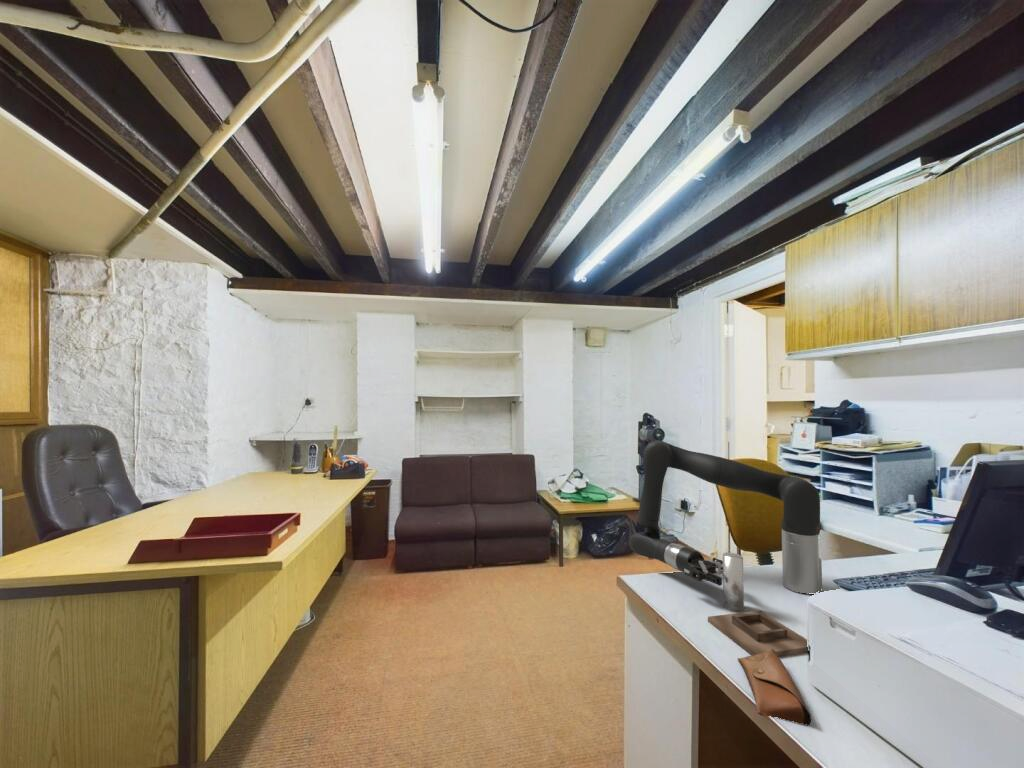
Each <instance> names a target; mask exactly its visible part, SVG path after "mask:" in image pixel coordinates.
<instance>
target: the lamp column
mask: <svg viewBox="0 0 1024 768" xmlns="http://www.w3.org/2000/svg"><path fill="white" fill-rule="evenodd" d="M722 561H723V570H722V571H723V574H722V590H723V591H722V594H723V595H722V597H723V598H722V599H723V602H722V603H723V608H725V609H727V611H731V612H734V613H743V612H744V611H745V599H744V598H745V597H744V596H745V594H744V592H745V591H744V590H745V589H744V557H743V556H742V555H741V554H738V553H734V552H723V553H722Z"/></svg>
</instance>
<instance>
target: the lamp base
mask: <svg viewBox="0 0 1024 768" xmlns="http://www.w3.org/2000/svg"><path fill="white" fill-rule="evenodd" d="M707 623H709V624H711V625H712V626H713V627H714V628H716V629H717V630H718V631H720V632H721V633H722V634H723V635H725V636H726V637H727V638H728V639H730V640H731V641H733V642H734V643H735V644H736V645H737V646H739V647H740V648H741V649H742V650H744V651H745V652H746V653H748V654H749V656H752V655H756V654H760V653H764V652H768V651H770V650H771V649H774V650H775V652H776V653H777V655H778V657H779V658H780V657H785V656H786V657H787V656H792V655H799V653H800V654H807V653H808V652H807V651H808V647H807V640H808V639H807V638H805V637H804V636H802V635H800V634H799V633H798V632H795V630H792V629H791V628H789V627H787V626H786V625H784V624H783V623H782V622H779V621H778V620H777V619H775V618H773V617H771V616H770V615H768V614H767V613H766V612H763V611H762V610H752V611H745V612H744V611H742V612H734V613H729V614H728V613H727V614H720V615H719V614H718V615H712V616H707Z"/></svg>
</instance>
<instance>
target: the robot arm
mask: <svg viewBox="0 0 1024 768" xmlns="http://www.w3.org/2000/svg"><path fill="white" fill-rule="evenodd" d="M643 458H644V460H643V462H644V478H643V485H642V486H643V487H642V491H641V496H640V499H639V508H638V512H637V513H638V514H637V523H638V524H639V525H640V526H642V527H644V531H640V532H635V533H632V534H631V536H629V541H628V543H629V544H628V545H629V547H630V548H631V550H632V551H633V552H634V553H635V554H637V555H638V556H642V557H646V558H649V559H653V560H658V561H660V562H662V563H664V564H665V565H668V566H670V567H671V568H673V569H675V570H677V571H680V572H682V573H683V574H684V575H685V576H687V577H689V578H691V579H693V580H695V581H697V582H700V583H701V582H703V581H705V582H710V583H711V584H714V585H716V586H719V587H720V586H723V577H721V575H723V559H720V558H719V559H718V558H716V557H712V560H710V559H707V558H704V557H703V555H702V553H701V552H700V551H698V550H695V549H692V548H690V547H687V546H684V545H683V544H679V543H676V542H675V543H674V542H672V541H670V540H667V539H663V538H661V533H660V526H659V522H660V516H661V515H660V514H661V508H662V497H663V486H664V482H665V481H664V480H665V477H666V473H667V470H668V468H672V469H676V470H680V471H683V472H686V473H688V474H690V475H692V476H695V477H696V478H698V479H701V480H703V481H706V482H707V483H710V484H713V485H716V486H719V487H723V488H727V489H730V490H737V491H744V492H752V493H753V492H754V493H759V494H762V495H763V494H764V495H765V496H769V497H771V498H774V499H777V500H779V501H782V503H783V517H782V519H781V523H780V524H781V553H782V554H781V555H782V557H781V560H782V567H781V568H782V586H783V587H784V588H786V589H788V590H789V591H792V592H795V593H798V592H800V593H799V594H802V593H808V594H807V595H809V593H816V592H818V591H820V590H821V589H822V590H823V570H822V569H823V567H822V563H823V561H822V558H820V557H819V556H820V554H819V551H820V550H819V527H820V524H821V498H820V497H821V496H820V492H819V491H818V490H819V489H817V487H816V486H815V485H813V484H812V483H811V482H809V481H808V480H805V479H804V478H802V477H798V476H791V475H787V474H786V475H785V474H780V473H776V472H775V473H774V472H770V471H765V470H762V469H760V468H757V467H754V466H752V465H749V464H746V463H742V462H740V461H736V460H733V459H729V458H725V457H721V456H718V455H712V454H708V453H703V452H696V451H692V450H687V449H684V448H682V447H678V446H676V445H673V444H671V443H668V442H665V441H663V440H659V439H658V440H653V441H650V442H649V443H648V444H647V445H646V446H645V448H644V451H643ZM820 592H821V591H820Z"/></svg>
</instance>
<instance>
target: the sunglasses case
mask: <svg viewBox="0 0 1024 768" xmlns="http://www.w3.org/2000/svg"><path fill="white" fill-rule="evenodd" d="M737 661H738V662H739V663H738V664H739V665H740V666H741V668H742V669H743V671H744V674H745V676H746V679H747V681H748V684H749V687H750V689H751V692H752V695H753V698H754V701H755V707H756V711H757V713H758V714H759V715H761V716H763V717H770V716H771V717H770V718H774V717H778V718H779V719H778V718H777V719H778V720H782V719H785V720H784V721H787V720H789V721H788V722H791V721H794V722H793V723H796V722H797V723H796V724H800V723H803V724H802V725H806V724H807V725H809V726H810V725H811V723H812V716H811V713H810V711H809V710H808V707H807V705H806V704H805V703H806V702H805V701H804V699H803V698H802V695H801V693H800V692H799V690H798V688H797V687H796V684H795V683H794V681H793V679H792V677H791V675H790V673H789V671H788V670H787V669H786V666H785V665H784V663H783V661H782V660H781V658H780V657H778V655H777V653H776V652H775V650H774V649H771V650H770V651H768V652H764V653H760V654H756V655H748V656H745V657H741V658H739V657H738V658H737ZM780 718H781V719H780ZM807 725H806V726H807Z"/></svg>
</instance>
